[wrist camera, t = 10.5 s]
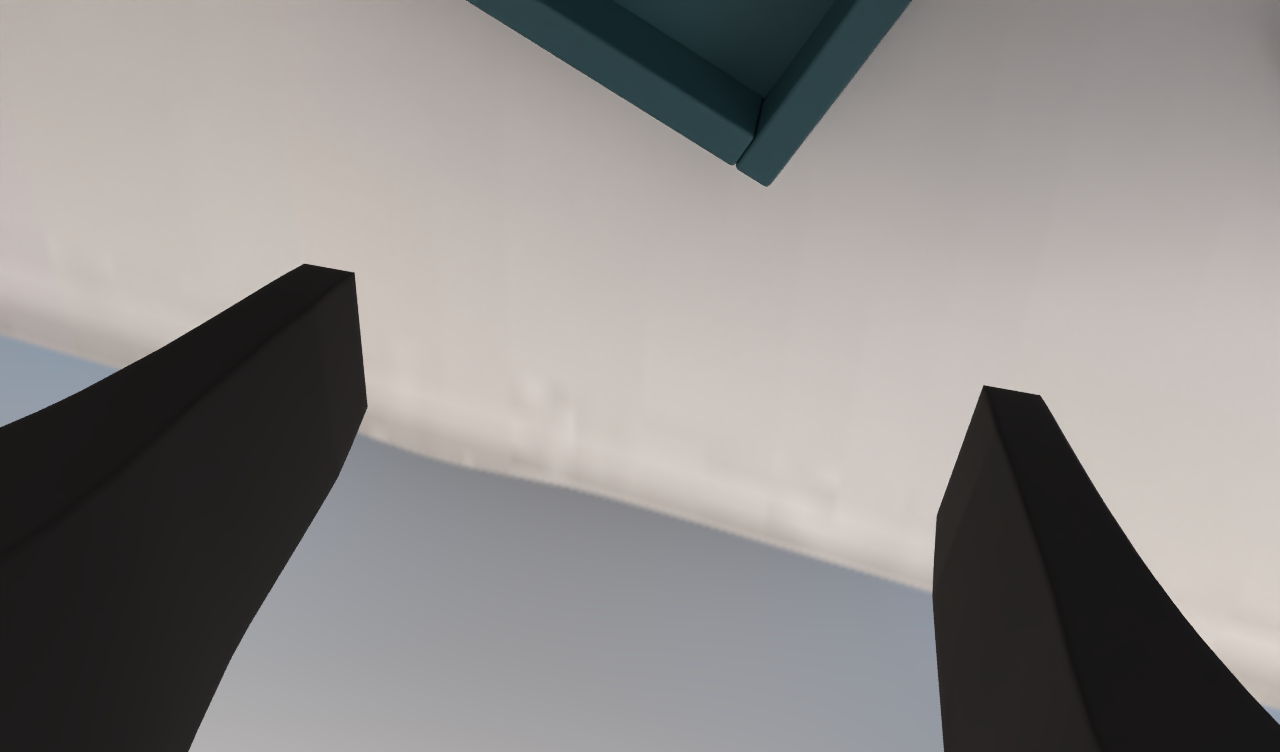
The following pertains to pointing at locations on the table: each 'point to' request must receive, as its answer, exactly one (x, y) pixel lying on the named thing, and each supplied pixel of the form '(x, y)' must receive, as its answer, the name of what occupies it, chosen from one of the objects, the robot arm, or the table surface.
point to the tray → (715, 62)
